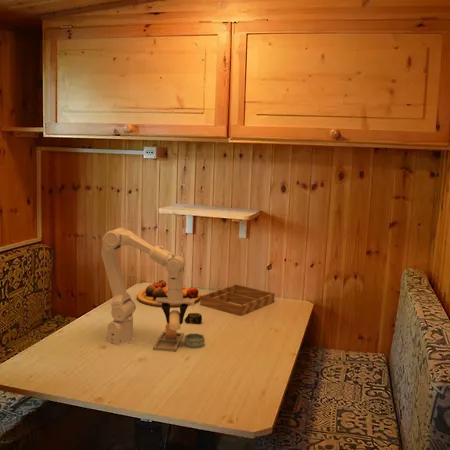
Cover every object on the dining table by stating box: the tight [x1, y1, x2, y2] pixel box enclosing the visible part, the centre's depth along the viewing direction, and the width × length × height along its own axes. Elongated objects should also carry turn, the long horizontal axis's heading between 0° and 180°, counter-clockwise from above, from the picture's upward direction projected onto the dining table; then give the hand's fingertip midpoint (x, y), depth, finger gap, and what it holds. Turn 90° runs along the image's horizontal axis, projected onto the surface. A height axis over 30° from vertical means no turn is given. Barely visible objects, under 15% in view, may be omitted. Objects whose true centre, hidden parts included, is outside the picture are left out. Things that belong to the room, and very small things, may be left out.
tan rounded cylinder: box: [169, 309, 182, 331], centre depth 197 cm, size 4×4×7 cm
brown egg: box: [164, 322, 178, 340], centre depth 205 cm, size 4×4×7 cm
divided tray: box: [152, 331, 185, 353], centre depth 202 cm, size 16×9×2 cm, turn 174°
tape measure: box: [183, 312, 203, 325], centre depth 227 cm, size 7×7×4 cm
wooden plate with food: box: [136, 279, 202, 308], centre depth 262 cm, size 32×32×8 cm
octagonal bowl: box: [184, 333, 205, 349], centre depth 201 cm, size 8×8×4 cm
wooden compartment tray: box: [199, 284, 275, 317], centre depth 256 cm, size 29×24×4 cm
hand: (174, 322), depth 198 cm, fingers closed on tan rounded cylinder, 4 cm apart
